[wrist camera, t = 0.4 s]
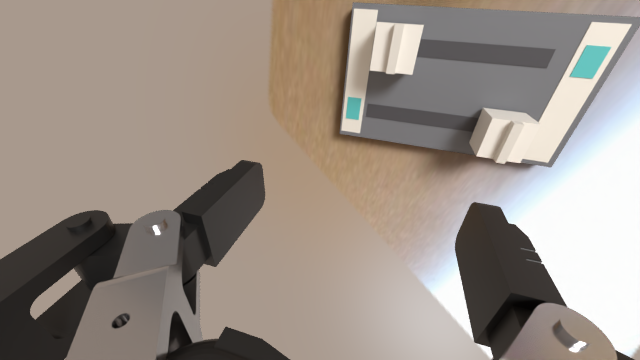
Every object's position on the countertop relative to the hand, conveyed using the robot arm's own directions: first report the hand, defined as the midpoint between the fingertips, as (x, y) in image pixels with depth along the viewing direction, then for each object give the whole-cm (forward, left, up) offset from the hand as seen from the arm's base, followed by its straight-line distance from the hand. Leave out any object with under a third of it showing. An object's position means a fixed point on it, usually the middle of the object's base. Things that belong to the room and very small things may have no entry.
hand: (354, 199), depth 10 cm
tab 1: (-4, 0, -22) cm, 23 cm away
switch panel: (0, +7, -25) cm, 26 cm away
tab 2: (+3, +12, -22) cm, 26 cm away
